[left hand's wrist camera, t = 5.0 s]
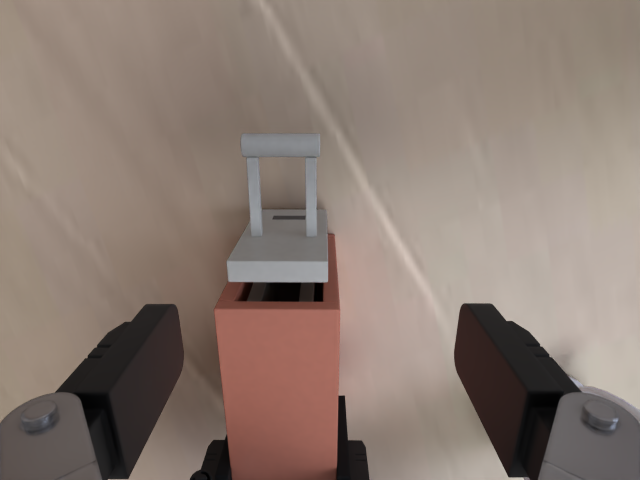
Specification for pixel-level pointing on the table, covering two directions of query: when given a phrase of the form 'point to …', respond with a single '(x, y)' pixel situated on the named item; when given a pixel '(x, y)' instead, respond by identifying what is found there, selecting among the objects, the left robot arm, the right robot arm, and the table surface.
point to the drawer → (281, 228)
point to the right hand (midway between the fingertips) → (291, 410)
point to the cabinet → (281, 381)
